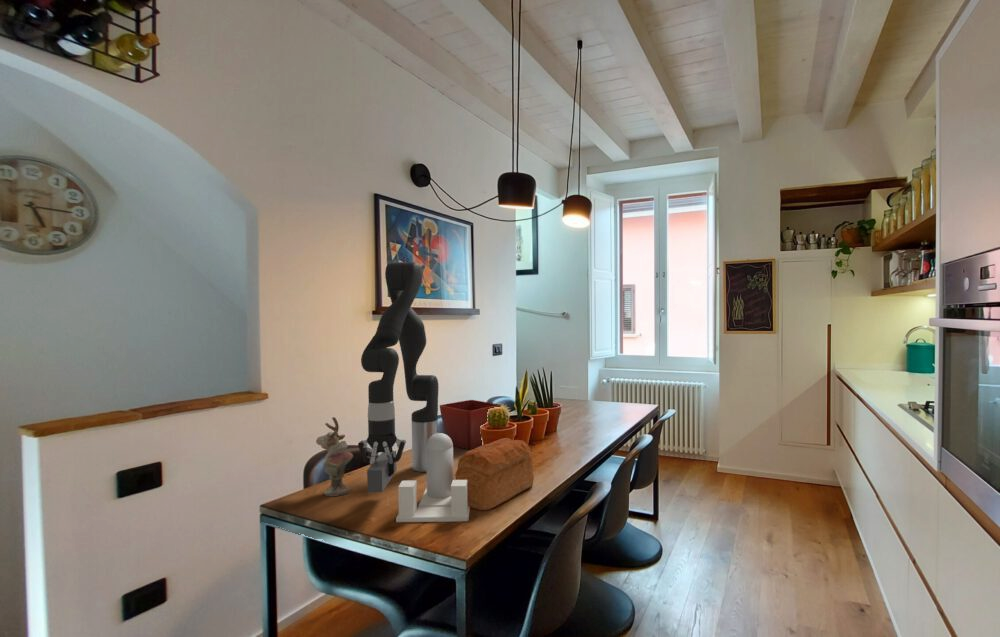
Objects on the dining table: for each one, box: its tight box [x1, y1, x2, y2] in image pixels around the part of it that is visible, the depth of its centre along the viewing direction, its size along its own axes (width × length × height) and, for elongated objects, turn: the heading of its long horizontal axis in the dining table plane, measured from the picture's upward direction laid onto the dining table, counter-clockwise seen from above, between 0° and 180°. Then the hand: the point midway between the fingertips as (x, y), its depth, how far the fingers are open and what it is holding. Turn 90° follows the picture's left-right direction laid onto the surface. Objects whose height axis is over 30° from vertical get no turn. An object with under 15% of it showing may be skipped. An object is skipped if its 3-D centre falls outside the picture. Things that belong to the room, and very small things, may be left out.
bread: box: [454, 437, 535, 511], centre depth 151 cm, size 14×27×15 cm, turn 145°
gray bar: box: [366, 450, 397, 493], centre depth 143 cm, size 18×4×6 cm, turn 0°
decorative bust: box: [315, 416, 354, 497], centre depth 154 cm, size 11×13×25 cm
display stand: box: [395, 432, 471, 523], centre depth 142 cm, size 22×19×19 cm
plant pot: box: [439, 399, 502, 450], centre depth 209 cm, size 19×19×17 cm
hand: (382, 475), depth 143 cm, fingers closed on gray bar, 4 cm apart
